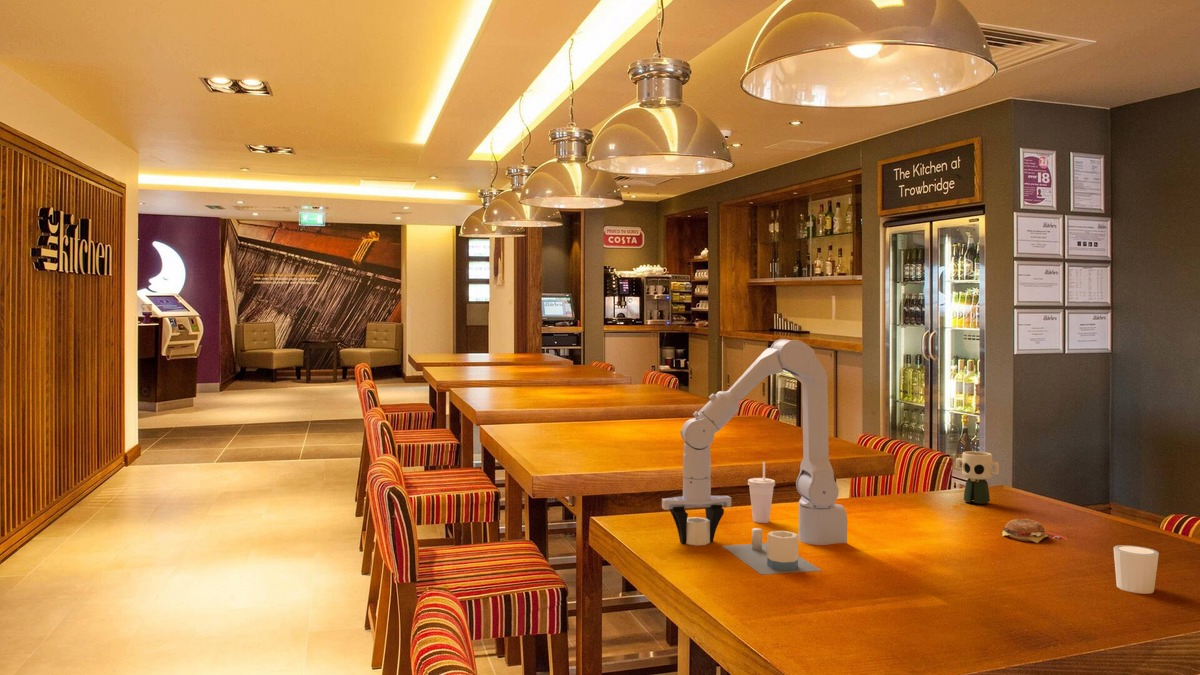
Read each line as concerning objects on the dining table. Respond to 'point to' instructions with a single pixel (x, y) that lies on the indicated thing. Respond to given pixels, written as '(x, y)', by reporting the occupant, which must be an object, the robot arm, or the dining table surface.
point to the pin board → (763, 556)
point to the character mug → (977, 474)
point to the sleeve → (697, 531)
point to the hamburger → (1027, 530)
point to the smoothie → (761, 497)
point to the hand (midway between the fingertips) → (696, 542)
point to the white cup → (1135, 568)
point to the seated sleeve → (782, 550)
